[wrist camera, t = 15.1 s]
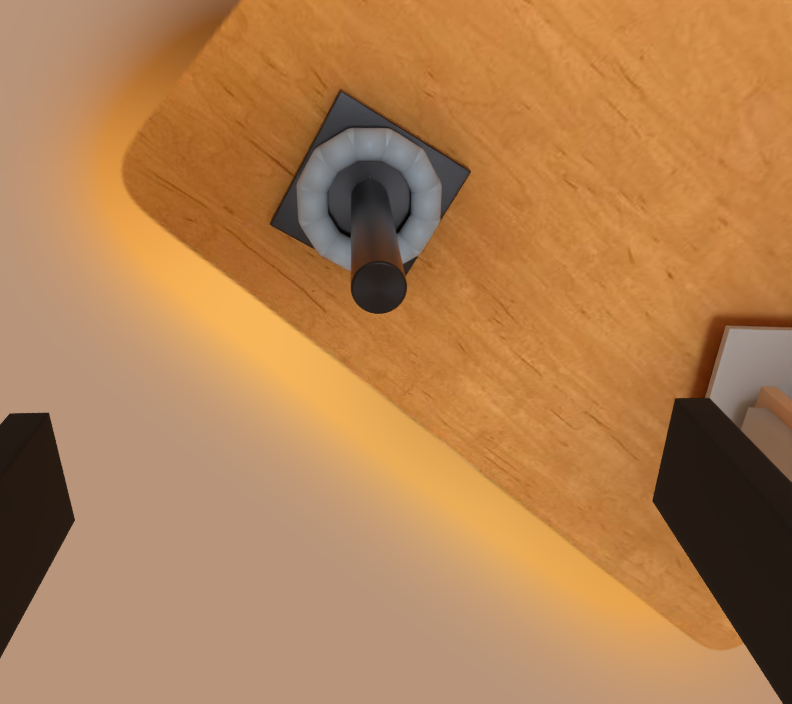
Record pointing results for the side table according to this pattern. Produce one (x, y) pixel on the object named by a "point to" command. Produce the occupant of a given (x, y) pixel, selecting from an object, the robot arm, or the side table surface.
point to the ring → (368, 148)
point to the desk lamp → (757, 388)
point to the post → (370, 205)
